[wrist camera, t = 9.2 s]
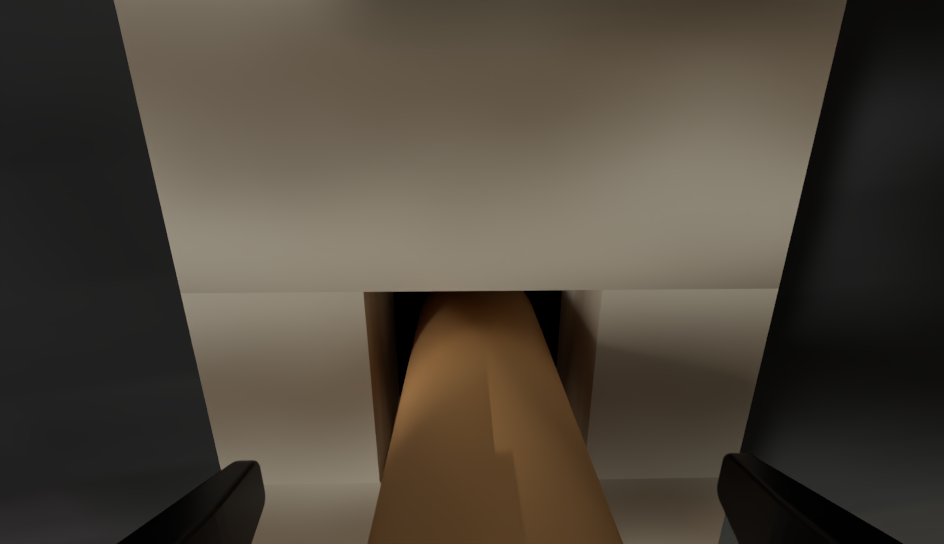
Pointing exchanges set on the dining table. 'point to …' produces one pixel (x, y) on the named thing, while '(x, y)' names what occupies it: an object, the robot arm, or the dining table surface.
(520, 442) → the peg
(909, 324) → the dining table surface
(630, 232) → the socket block
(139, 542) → the robot arm
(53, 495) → the dining table surface
